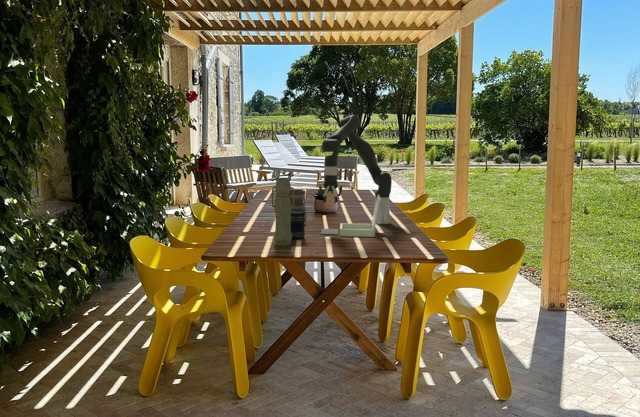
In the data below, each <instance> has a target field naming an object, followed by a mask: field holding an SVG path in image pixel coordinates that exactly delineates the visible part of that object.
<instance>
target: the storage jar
mask: <svg viewBox="0 0 640 417" xmlns="http://www.w3.org/2000/svg"><path fill="white" fill-rule="evenodd" d="M305 214H306V211H291V234H292V240H291V241H303V240H305V234H306V233H305V223H306V222H305ZM304 222H305V223H304Z"/></svg>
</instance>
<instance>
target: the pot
mask: <svg viewBox="0 0 640 417" xmlns="http://www.w3.org/2000/svg"><path fill="white" fill-rule="evenodd" d="M335 204H336V203H335V194H334V192H331V193H329V192H327V194H326V203H325V206H326V207H335V206H336V205H335Z"/></svg>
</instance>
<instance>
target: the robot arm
mask: <svg viewBox="0 0 640 417" xmlns="http://www.w3.org/2000/svg"><path fill="white" fill-rule="evenodd" d="M339 124H340V128H339V129H337V130H335V132H334V133H332V135H330V136H328V137H326V138H324V140H323V142H322V144H321V148H322V150H323V151H325V152H329V153H330V152H331V153H332V154H331V155H326V156H325V157H324V158H325V159H324V174H323V175H324V178H323V179H324V180H323V182H324V183H323V184H319V185H318V191H319V194H320V196H321V197H322V198H323V203H324V204H326V194H327V193H329V192H331V193H333V194H335V204H337V203H338V198H339V197H341V196H342V195H341V194H342V191H343V185H339V184H338V158H339V154H340V150H341V145H342V143H343V142H345V141H344V140H346V138H348V140H349V141H350V143H351V144H352V145H353V147H354V148H355V150H356V153H358V156H359V157H360V159H361V161H362V162H363V163H364V165H365V167H366V168H367V170H368V172H369V174H370V176H371V179H372V181H373V183H374V184H375V185H376V186H378V187H377V188H378V189H377V191H376V192H375V193H374V206H375V205H376V200H377V195H379V196H380V198H381V200H380V205H379V209H378V214H377V219H376V224H375V225H389V224H390V194H391V191H392V175H391V174H390V173H388V172H387V171H386V172H385V171H383V170H382V169H381V168H380V166H379V163H378V162H377V157H376V153H375V151H374V149H373V147H372V145H371V144H370V143H369V142H367V141H366V139H363V138H362V137H360V136H358V135H357V134H356V133H355V131H356V130H357V129H358V128H360V126H361V119H360V117H359V116H358V115H356V114H351V115H348V116H345V117H344V118H342V119H340V122H339ZM323 188H324V189H325V191H324V193H323ZM337 188H338V190H339V191H338V193H337Z"/></svg>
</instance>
